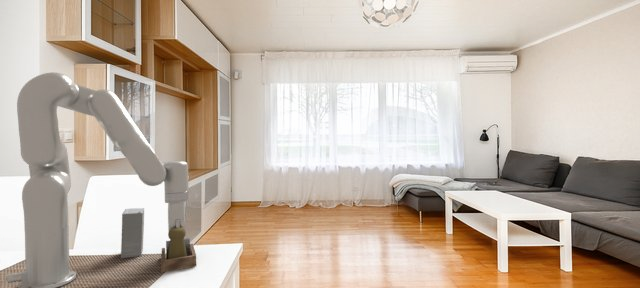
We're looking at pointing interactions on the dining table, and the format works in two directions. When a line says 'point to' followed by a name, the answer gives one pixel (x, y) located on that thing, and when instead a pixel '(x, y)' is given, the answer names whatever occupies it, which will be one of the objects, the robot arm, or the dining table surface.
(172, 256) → the cork
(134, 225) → the skincare box
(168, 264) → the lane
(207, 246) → the dining table surface
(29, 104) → the robot arm
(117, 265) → the dining table surface
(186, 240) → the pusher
